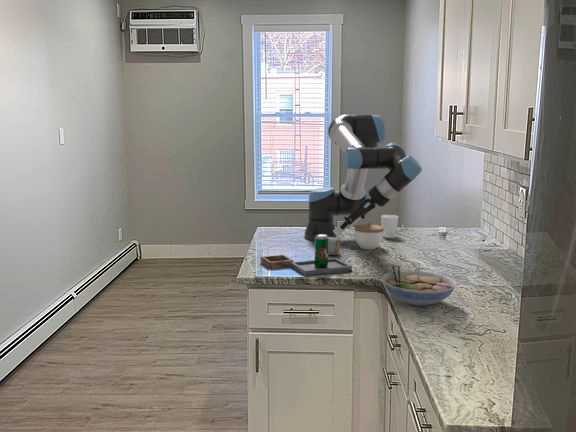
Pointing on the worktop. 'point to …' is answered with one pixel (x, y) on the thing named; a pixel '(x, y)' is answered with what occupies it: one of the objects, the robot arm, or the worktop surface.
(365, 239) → the lidded bowl
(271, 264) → the walnut collar
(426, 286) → the ramen bowl
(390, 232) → the white cup
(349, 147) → the robot arm
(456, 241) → the worktop surface
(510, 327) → the worktop surface
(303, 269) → the grey tray
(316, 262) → the soda can
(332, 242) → the ceramic mug
